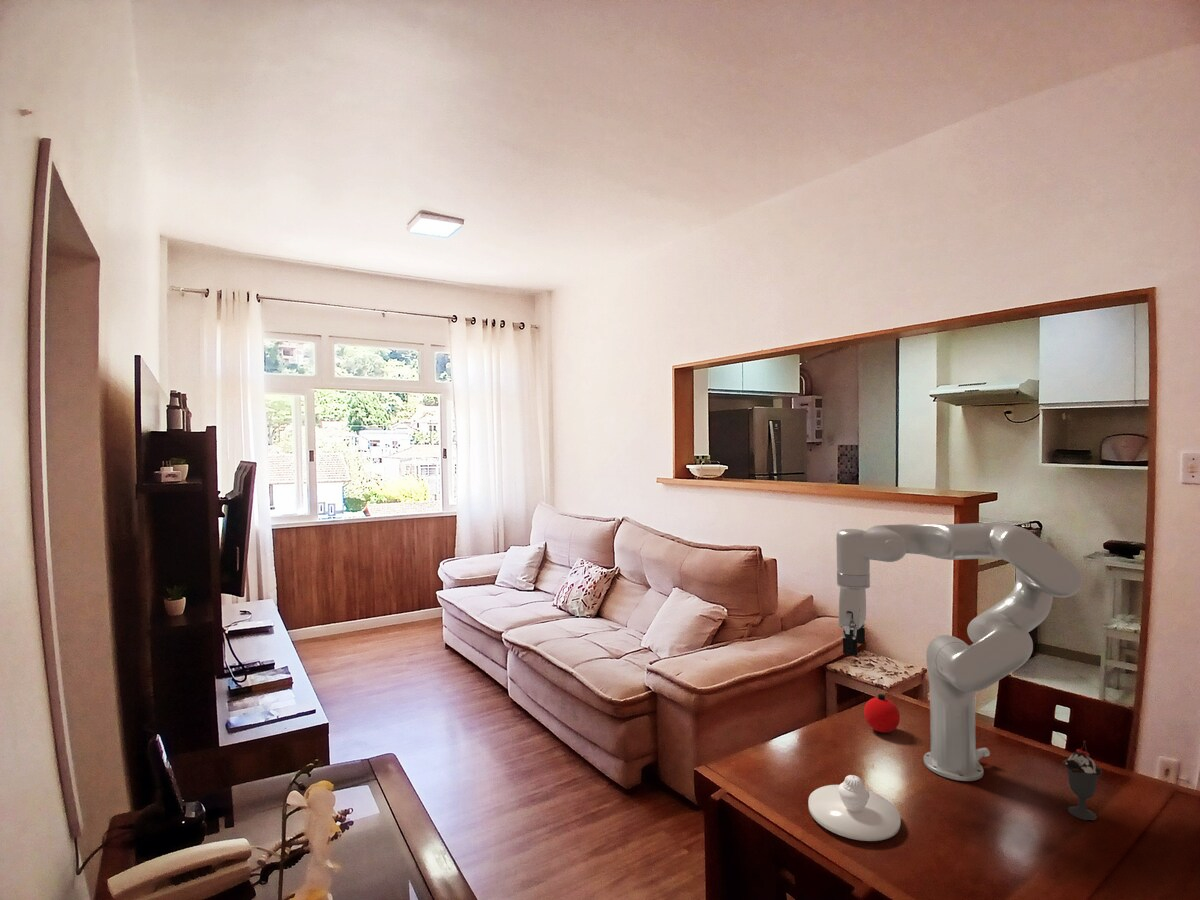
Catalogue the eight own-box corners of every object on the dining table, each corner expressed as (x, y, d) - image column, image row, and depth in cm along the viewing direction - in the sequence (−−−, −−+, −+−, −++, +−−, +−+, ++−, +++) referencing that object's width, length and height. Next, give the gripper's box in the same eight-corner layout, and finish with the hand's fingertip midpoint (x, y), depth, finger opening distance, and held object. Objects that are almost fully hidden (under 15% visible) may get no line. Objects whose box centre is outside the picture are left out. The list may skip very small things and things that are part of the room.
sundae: (1094, 807, 132) (1093, 738, 132) (1108, 826, 125) (1107, 753, 125) (1057, 802, 134) (1057, 733, 134) (1069, 820, 128) (1069, 748, 127)
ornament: (883, 741, 162) (883, 704, 162) (856, 727, 170) (856, 691, 170) (907, 734, 166) (907, 697, 166) (879, 721, 174) (879, 685, 174)
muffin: (870, 804, 131) (870, 772, 131) (869, 820, 126) (868, 786, 126) (839, 797, 134) (839, 765, 134) (836, 813, 128) (836, 779, 128)
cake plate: (858, 786, 141) (858, 778, 141) (921, 833, 124) (920, 824, 124) (791, 802, 136) (791, 793, 136) (847, 853, 119) (847, 843, 119)
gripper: (844, 571, 161) (845, 636, 161) (829, 585, 146) (830, 656, 146) (875, 574, 157) (876, 641, 157) (862, 588, 142) (864, 662, 142)
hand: (854, 648), depth 152 cm, fingers open, 9 cm apart
